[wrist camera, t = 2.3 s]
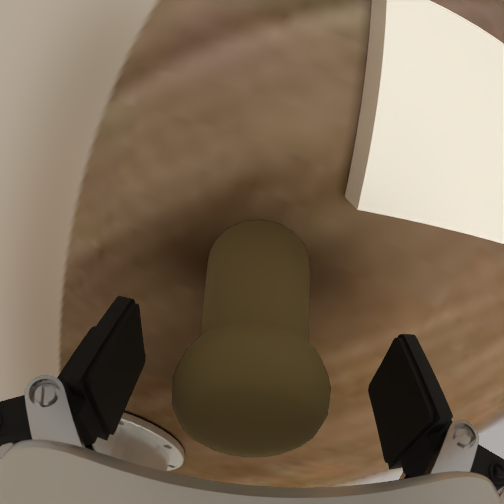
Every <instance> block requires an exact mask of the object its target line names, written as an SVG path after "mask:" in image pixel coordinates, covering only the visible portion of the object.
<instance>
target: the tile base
mask: <svg viewBox="0 0 504 504" xmlns="http://www.w3.org/2000/svg"><path fill="white" fill-rule="evenodd" d="M345 198H346V199H347V200H348V201H349V202H350V203H351V204H352V205H353V206H354V207H355V208H356V209H357V210H362V211H367V212H372V213H377V214H382V215H387V216H392V217H397V218H401V219H406V220H411V221H415V222H420V223H424V224H428V225H433V226H437V227H441V228H445V229H449V230H453V231H457V232H461V233H465V234H469V235H473V236H477V237H481V238H484V239H488V240H492V241H495V242H499V243H502V244H504V44H503V43H502V42H500V41H499V40H498V39H496V38H495V37H493V36H492V35H490V34H489V33H487V32H486V31H484V30H482V29H481V28H479V27H478V26H476V25H474V24H473V23H471V22H469V21H468V20H466V19H464V18H463V17H461V16H459V15H457V14H455V13H453V12H452V11H450V10H448V9H446V8H444V7H442V6H440V5H438V4H436V3H434V2H432V1H430V0H372V4H371V20H370V32H369V44H368V54H367V63H366V72H365V80H364V88H363V95H362V102H361V109H360V116H359V122H358V128H357V134H356V140H355V146H354V152H353V157H352V162H351V168H350V173H349V178H348V183H347V188H346V193H345Z"/></svg>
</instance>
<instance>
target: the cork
mask: <svg viewBox="0 0 504 504" xmlns="http://www.w3.org/2000/svg"><path fill="white" fill-rule="evenodd" d="M309 314H310V258H309V255H308V253H307V250H306V248H305V245H304V243H303V242H302V241H301V240H300V239H299V238H298V236H297V235H296V234H295V233H294V232H293V231H291V230H290V229H288V228H286V227H284V226H283V225H281V224H279V223H275V222H271V221H266V220H252V221H244V222H241V223H239V224H237V225H234V226H232V227H229V228H228V229H227V230H226V231H225V232H223V233H222V234H221V235H220V236H219V237H218V238H217V239H216V241H215V243H214V244H213V246H212V248H211V250H210V252H209V258H208V264H207V272H206V281H205V291H204V301H203V312H202V322H201V334H200V337H199V338H198V339H197V340H195V341H194V342H193V343H192V344H191V346H190V347H189V348H188V349H187V351H186V352H185V354H184V355H183V357H182V359H181V360H180V362H179V363H178V365H177V368H176V370H175V373H174V376H173V387H172V406H173V408H174V411H175V413H176V415H177V418H178V420H179V422H180V424H181V425H182V427H183V429H184V430H185V431H186V432H187V433H188V434H189V435H190V436H191V437H192V438H193V439H195V440H196V441H198V442H200V443H202V444H203V445H205V446H207V447H209V448H211V449H213V450H215V451H218V452H222V453H225V454H228V455H234V456H241V457H267V456H273V455H278V454H282V453H285V452H287V451H290V450H293V449H295V448H298V447H300V446H302V445H303V444H305V443H306V442H307V441H309V440H310V439H312V438H313V437H314V436H315V434H316V433H317V431H318V430H319V429H320V427H321V425H322V424H323V422H324V420H325V419H326V417H327V415H328V408H329V401H330V392H331V386H330V381H329V377H328V373H327V371H326V369H325V366H324V364H323V362H322V359H321V358H320V356H319V355H318V353H317V351H316V350H315V348H314V347H312V346H311V345H310V344H309Z"/></svg>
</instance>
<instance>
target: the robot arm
mask: <svg viewBox="0 0 504 504" xmlns="http://www.w3.org/2000/svg"><path fill="white" fill-rule="evenodd" d="M144 364H145V351H144V343H143V336H142V328H141V319H140V310H139V305H138V304H135V301H134V299H131V298H126V297H121V296H118V297H117V298H116V299H115V301H114V302H113V303H112V305H111V306H110V308H109V309H108V310H107V312H106V313H105V314H104V316H103V317H102V319H101V320H100V321H99V323H98V324H97V326H96V327H95V326H94V327H92V328H91V329H90V330H89V332H88V333H87V335H86V336H85V337H84V339H83V340H82V342H81V343H80V345H79V346H78V347H77V349H76V350H75V352H74V353H73V355H72V356H71V358H70V359H69V361H68V362H67V364H66V365H65V367H64V368H63V370H62V371H61V373H60V374H59V376H58V378H55V377H53V376H49V375H44V376H39V377H36V378H34V379H33V380H31V381H30V383H29V384H28V385H27V387H26V389H25V395H23V396H20V397H16V398H12V399H8V400H5V401H1V402H0V504H504V459H502V458H500V457H499V456H497V455H495V454H493V453H492V452H490V451H489V450H487V449H485V448H484V447H482V446H480V445H479V444H478V442H479V436H478V432H477V430H476V428H475V427H474V426H473V425H472V424H471V423H469V422H467V421H465V420H457V421H454V422H453V423H452V420H451V419H452V417H453V415H452V413H451V410H450V408H449V405H448V403H447V401H446V398H445V396H444V394H443V392H442V389H441V387H440V385H439V383H438V381H437V378H436V376H435V374H434V372H433V370H432V368H431V366H430V364H429V362H428V360H427V358H426V356H425V354H424V352H423V350H422V348H421V346H420V344H419V342H418V340H417V338H416V336H415V335H411V334H400V335H399V336H398V337H397V338H395V339H394V340H393V342H392V344H391V346H390V348H389V350H388V352H387V354H386V356H385V357H384V359H383V361H382V363H381V365H380V367H379V368H378V370H377V372H376V374H375V375H374V377H373V379H372V381H371V382H370V384H369V388H368V392H369V396H370V400H371V404H372V408H373V412H374V416H375V420H376V425H377V429H378V433H379V438H380V442H381V447H382V451H383V456H384V460H385V462H386V463H388V465H389V469H395V468H401V467H402V468H403V473H402V475H401V477H400V479H399V480H395V481H388V482H381V483H373V484H364V485H354V486H341V487H319V488H287V487H265V486H252V485H242V484H233V483H225V482H218V481H211V480H205V479H199V478H193V477H188V476H183V475H178V474H174V473H169V472H167V471H169V470H174V469H177V468H179V467H180V466H181V465H182V464H183V462H184V457H185V453H184V450H183V448H182V446H181V445H180V444H179V443H178V442H177V440H175V439H174V438H173V437H172V436H171V435H169V434H168V433H166V432H165V431H163V430H162V429H160V428H158V427H157V426H155V425H153V424H151V423H149V422H147V421H145V420H143V419H141V418H138V417H136V416H133V415H131V414H127V413H124V410H125V408H126V405H127V403H128V401H129V398H130V396H131V394H132V391H133V389H134V387H135V385H136V382H137V380H138V378H139V375H140V373H141V371H142V369H143V367H144Z"/></svg>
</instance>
